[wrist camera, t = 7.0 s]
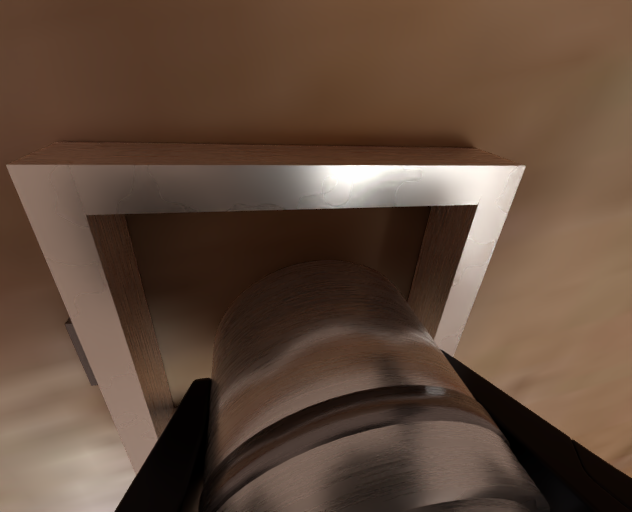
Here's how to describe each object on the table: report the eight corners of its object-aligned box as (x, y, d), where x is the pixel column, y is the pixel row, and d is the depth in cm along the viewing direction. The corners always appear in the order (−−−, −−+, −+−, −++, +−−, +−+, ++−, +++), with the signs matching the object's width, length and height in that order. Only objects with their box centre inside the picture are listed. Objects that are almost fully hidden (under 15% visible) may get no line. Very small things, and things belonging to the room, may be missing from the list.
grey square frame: (475, 148, 10) (525, 165, 8) (404, 388, 15) (425, 429, 14) (27, 140, 7) (-35, 164, 6) (135, 430, 13) (119, 485, 11)
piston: (428, 253, 9) (663, 489, 4) (389, 393, 12) (496, 627, 7) (201, 264, 8) (137, 626, 3) (220, 418, 11) (207, 724, 6)
